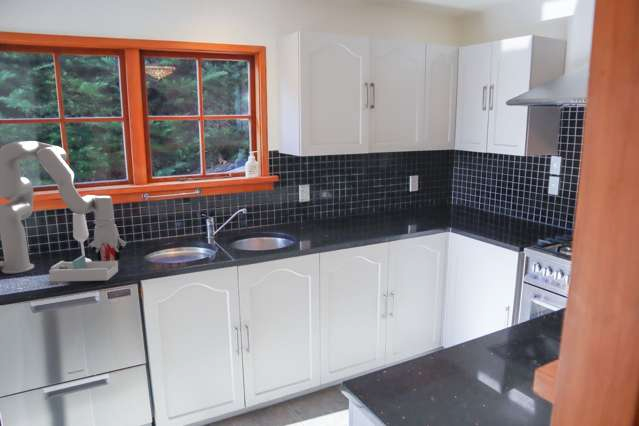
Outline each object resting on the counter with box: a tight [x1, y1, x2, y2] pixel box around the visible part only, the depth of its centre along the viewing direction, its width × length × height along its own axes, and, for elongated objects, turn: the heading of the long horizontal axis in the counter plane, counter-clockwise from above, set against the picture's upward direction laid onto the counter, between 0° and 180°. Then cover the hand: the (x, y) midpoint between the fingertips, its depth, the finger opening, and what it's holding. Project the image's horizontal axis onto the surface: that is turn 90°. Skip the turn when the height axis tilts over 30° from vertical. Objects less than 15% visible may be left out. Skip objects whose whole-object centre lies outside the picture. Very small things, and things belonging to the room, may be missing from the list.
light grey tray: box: [48, 260, 119, 283], centre depth 204 cm, size 24×12×6 cm, turn 92°
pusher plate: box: [71, 255, 86, 269], centre depth 204 cm, size 2×8×7 cm, turn 2°
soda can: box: [100, 242, 119, 264], centre depth 216 cm, size 7×7×13 cm
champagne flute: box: [72, 212, 92, 262], centre depth 225 cm, size 7×7×24 cm
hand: (109, 259), depth 216 cm, fingers open, 7 cm apart
